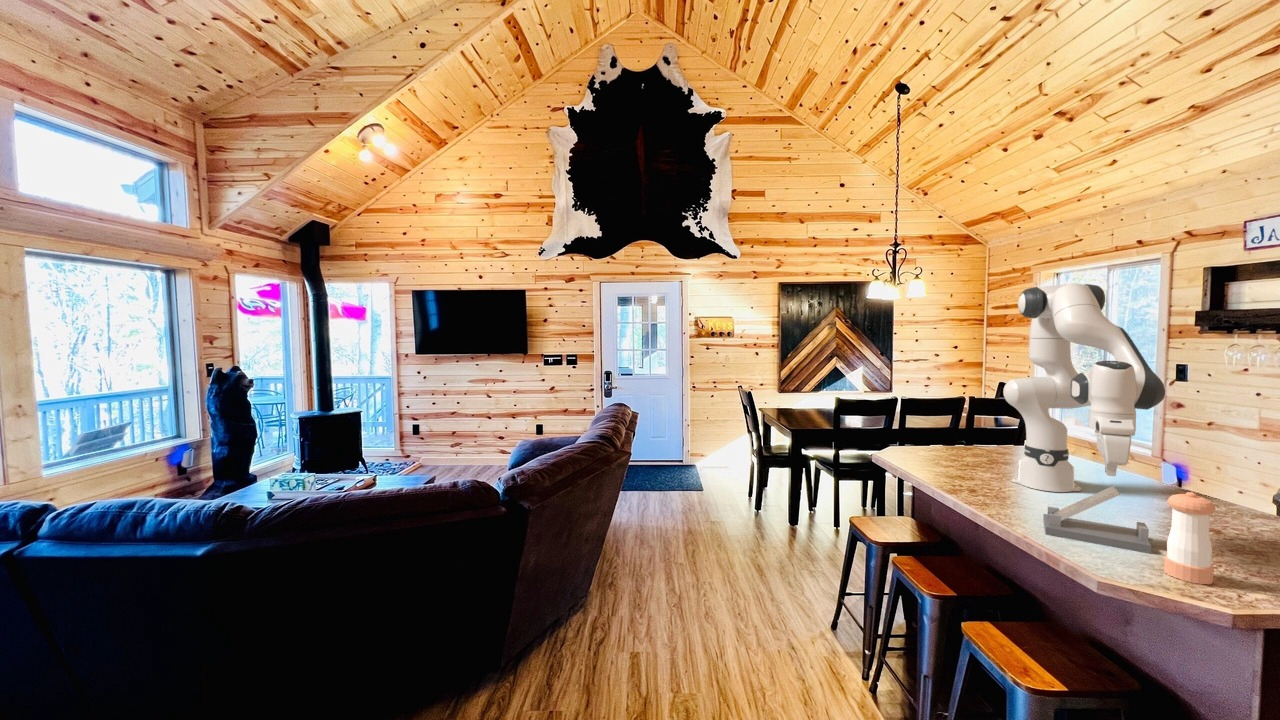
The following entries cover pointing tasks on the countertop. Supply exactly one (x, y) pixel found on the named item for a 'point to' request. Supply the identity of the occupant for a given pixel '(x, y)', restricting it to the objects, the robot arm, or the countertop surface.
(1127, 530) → the clamp board
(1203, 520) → the pepper shaker
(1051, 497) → the countertop surface
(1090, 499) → the clamp lever
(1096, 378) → the robot arm
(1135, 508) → the countertop surface
